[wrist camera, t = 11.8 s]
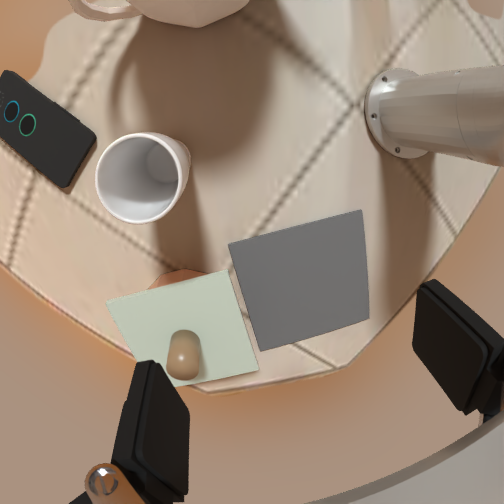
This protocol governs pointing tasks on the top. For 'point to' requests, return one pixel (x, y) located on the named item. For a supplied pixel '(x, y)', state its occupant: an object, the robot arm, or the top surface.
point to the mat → (304, 279)
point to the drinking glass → (142, 176)
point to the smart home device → (42, 130)
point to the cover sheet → (187, 329)
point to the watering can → (163, 10)
